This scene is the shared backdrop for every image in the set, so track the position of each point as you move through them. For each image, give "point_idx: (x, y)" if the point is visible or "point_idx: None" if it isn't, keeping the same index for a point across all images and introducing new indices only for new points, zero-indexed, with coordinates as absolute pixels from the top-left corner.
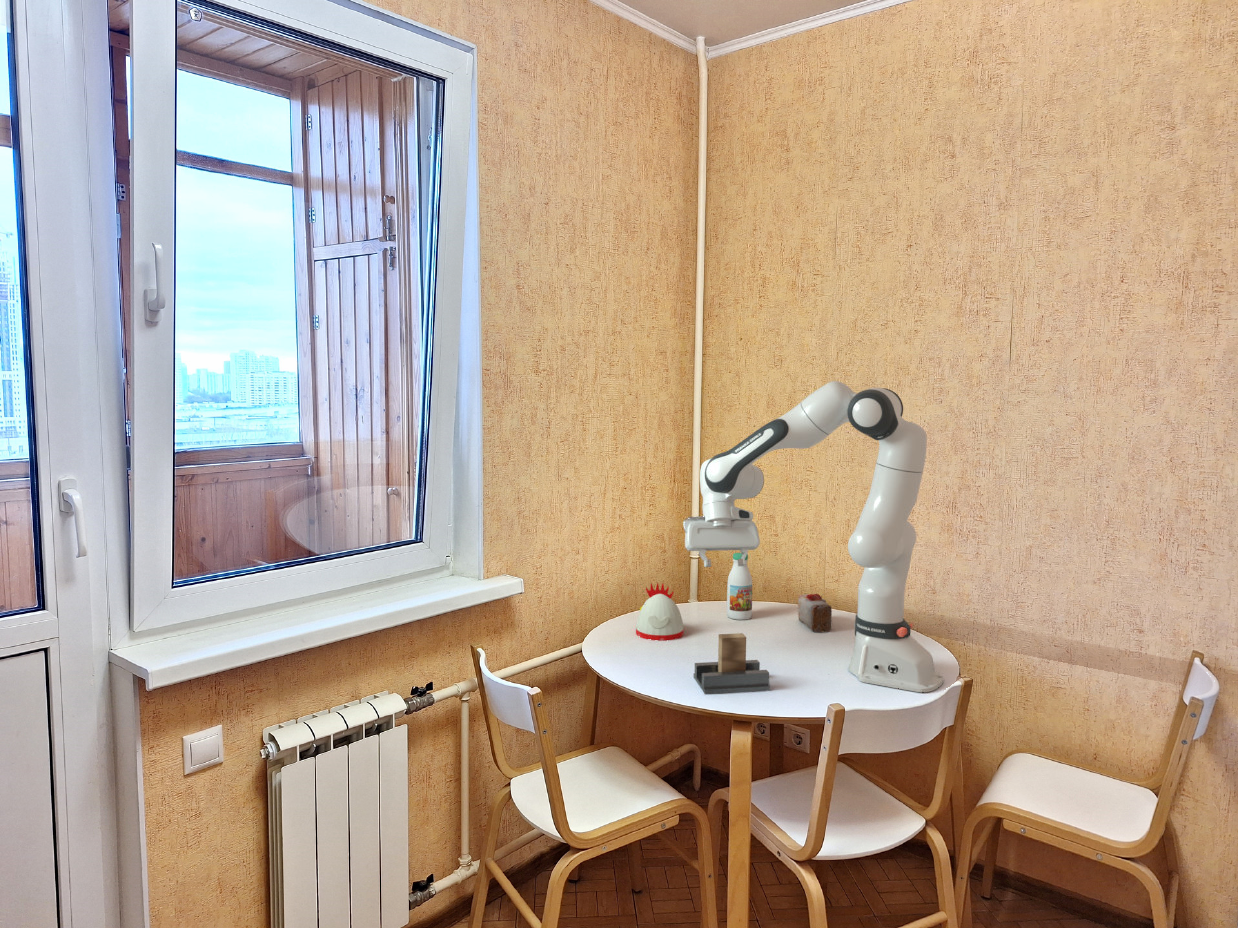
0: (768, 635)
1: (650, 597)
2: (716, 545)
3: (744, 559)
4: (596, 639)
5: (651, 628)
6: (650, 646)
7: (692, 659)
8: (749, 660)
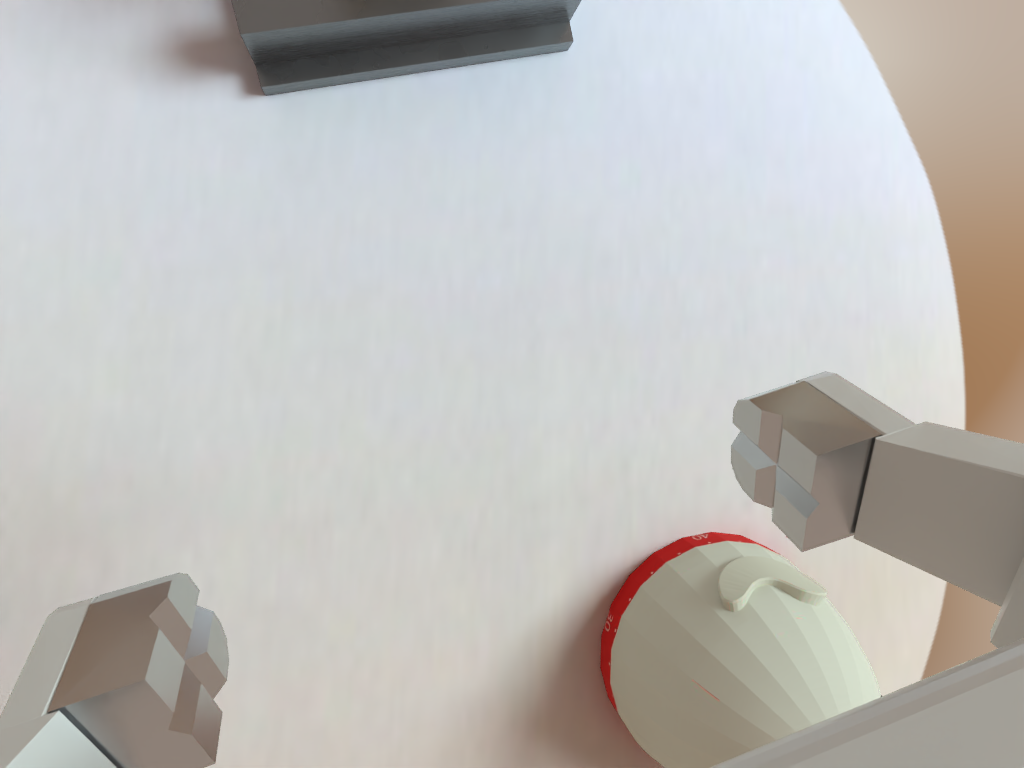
0: None
1: None
2: (990, 745)
3: (12, 700)
4: None
5: (775, 559)
6: None
7: (566, 287)
8: (287, 23)
